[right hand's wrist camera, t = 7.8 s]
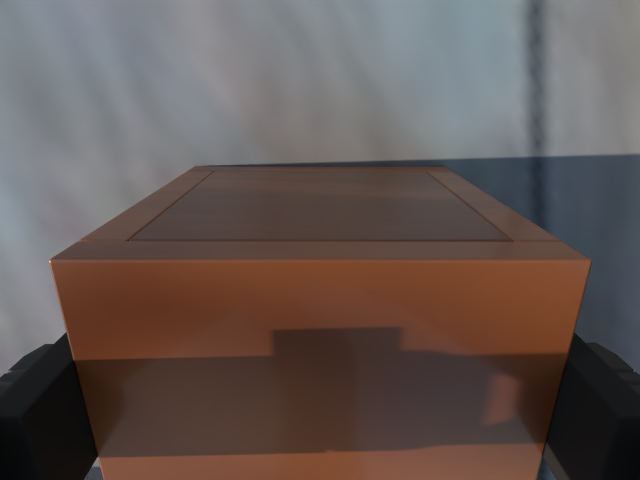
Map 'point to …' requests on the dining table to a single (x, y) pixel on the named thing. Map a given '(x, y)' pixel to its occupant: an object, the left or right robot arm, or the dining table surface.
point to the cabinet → (320, 328)
